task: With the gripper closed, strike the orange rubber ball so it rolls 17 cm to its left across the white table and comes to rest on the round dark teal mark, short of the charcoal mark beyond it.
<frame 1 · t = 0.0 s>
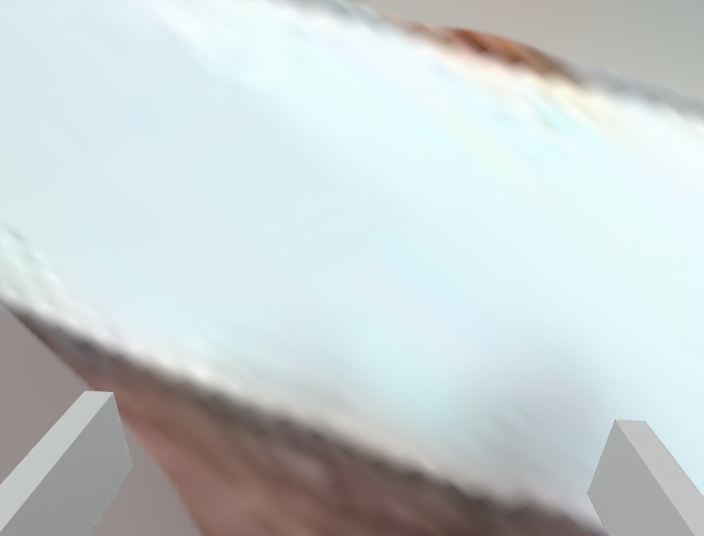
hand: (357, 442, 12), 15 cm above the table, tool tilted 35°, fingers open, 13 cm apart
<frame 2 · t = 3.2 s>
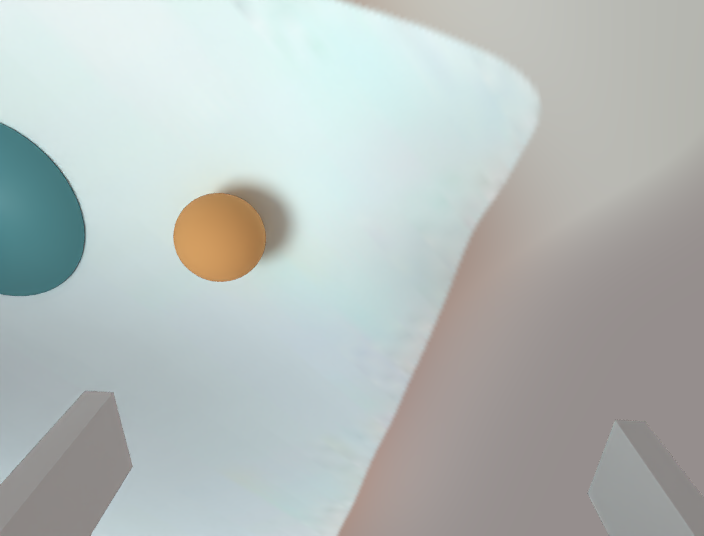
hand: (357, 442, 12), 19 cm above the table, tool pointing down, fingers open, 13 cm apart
ball: (221, 237, 27), on the table
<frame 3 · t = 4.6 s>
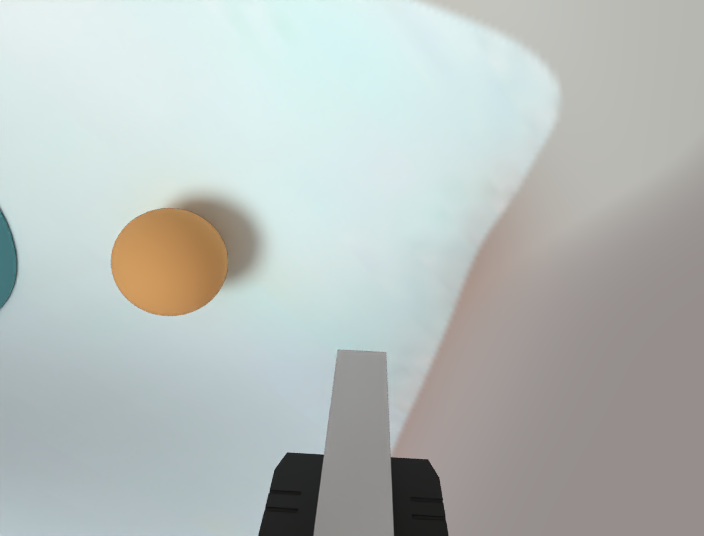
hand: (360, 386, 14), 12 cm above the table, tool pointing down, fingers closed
ball: (172, 262, 22), on the table
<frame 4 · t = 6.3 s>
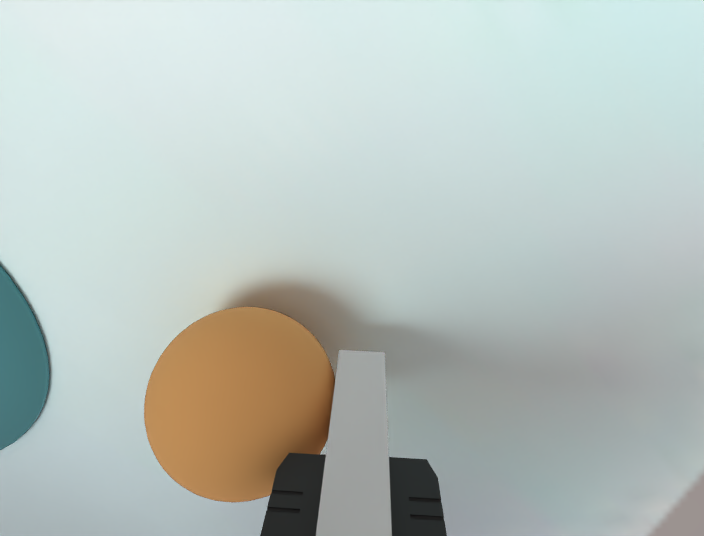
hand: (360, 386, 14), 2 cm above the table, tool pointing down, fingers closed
ball: (245, 398, 13), on the table, touching gripper
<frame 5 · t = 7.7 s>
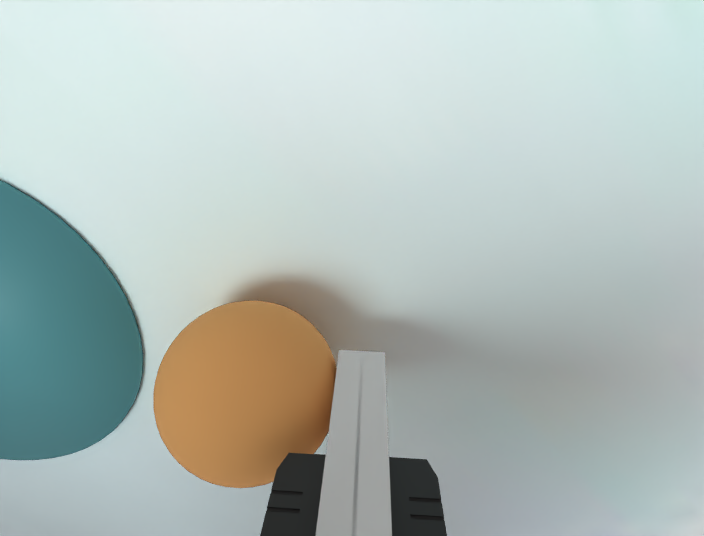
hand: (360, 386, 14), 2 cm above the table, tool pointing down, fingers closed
ball: (250, 388, 13), on the table, touching gripper
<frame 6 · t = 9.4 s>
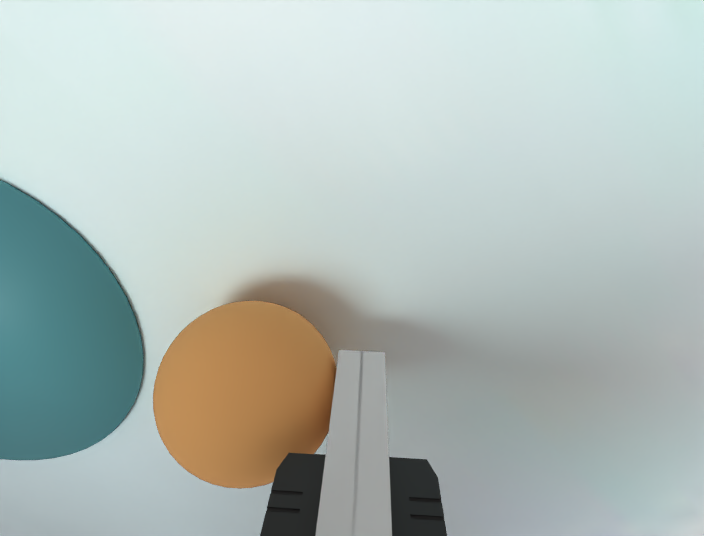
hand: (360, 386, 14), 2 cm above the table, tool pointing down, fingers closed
ball: (250, 389, 13), on the table, touching gripper
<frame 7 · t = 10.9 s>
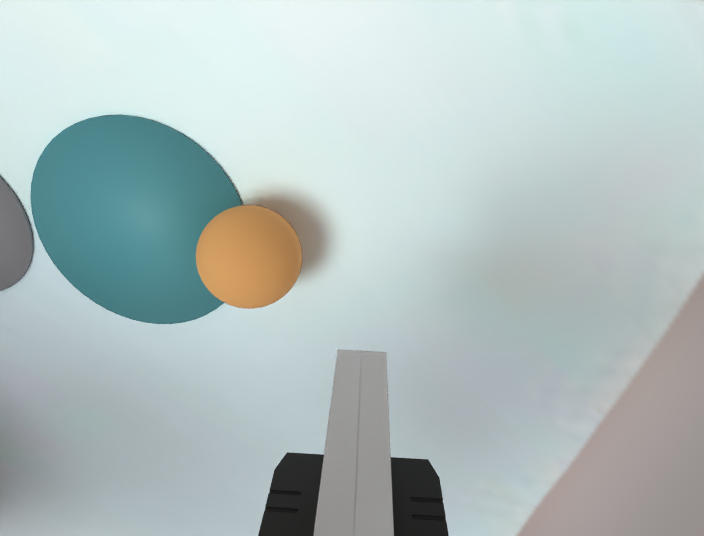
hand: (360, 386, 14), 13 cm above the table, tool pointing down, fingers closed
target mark: (142, 229, 26), on the table
ball: (250, 256, 23), on the table
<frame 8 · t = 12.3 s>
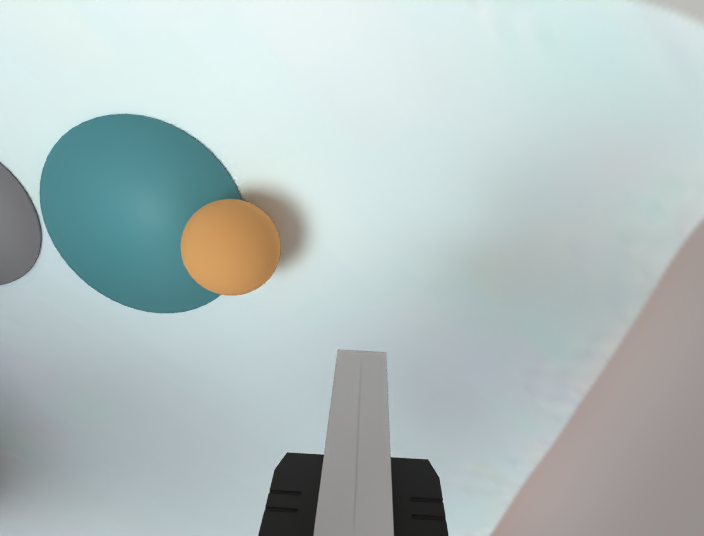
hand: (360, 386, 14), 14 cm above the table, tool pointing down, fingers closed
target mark: (146, 222, 27), on the table
ball: (232, 247, 25), on the table
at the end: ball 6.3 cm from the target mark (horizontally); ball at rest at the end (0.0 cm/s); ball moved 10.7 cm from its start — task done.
